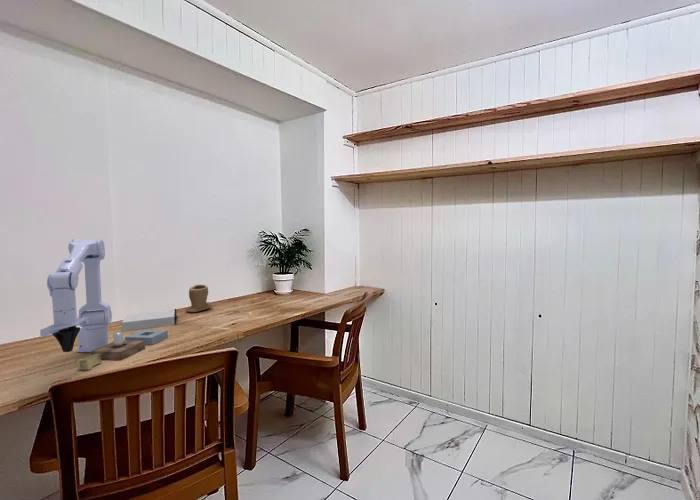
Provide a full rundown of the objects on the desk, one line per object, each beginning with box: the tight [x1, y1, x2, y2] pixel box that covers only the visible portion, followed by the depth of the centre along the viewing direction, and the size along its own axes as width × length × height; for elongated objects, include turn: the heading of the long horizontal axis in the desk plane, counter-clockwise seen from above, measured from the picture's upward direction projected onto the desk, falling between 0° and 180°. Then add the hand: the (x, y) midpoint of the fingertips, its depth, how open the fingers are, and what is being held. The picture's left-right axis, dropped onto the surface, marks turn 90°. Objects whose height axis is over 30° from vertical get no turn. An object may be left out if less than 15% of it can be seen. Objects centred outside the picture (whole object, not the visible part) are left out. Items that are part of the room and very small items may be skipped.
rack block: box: [124, 329, 169, 346], centre depth 145 cm, size 12×10×3 cm
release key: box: [77, 354, 102, 371], centre depth 118 cm, size 4×6×3 cm, turn 173°
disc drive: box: [121, 308, 178, 332], centre depth 171 cm, size 18×22×5 cm
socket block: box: [90, 339, 146, 361], centre depth 130 cm, size 12×12×3 cm
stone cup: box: [184, 284, 214, 313], centre depth 198 cm, size 15×12×15 cm
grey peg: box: [112, 331, 124, 348], centre depth 130 cm, size 3×3×8 cm
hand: (67, 351), depth 109 cm, fingers closed
